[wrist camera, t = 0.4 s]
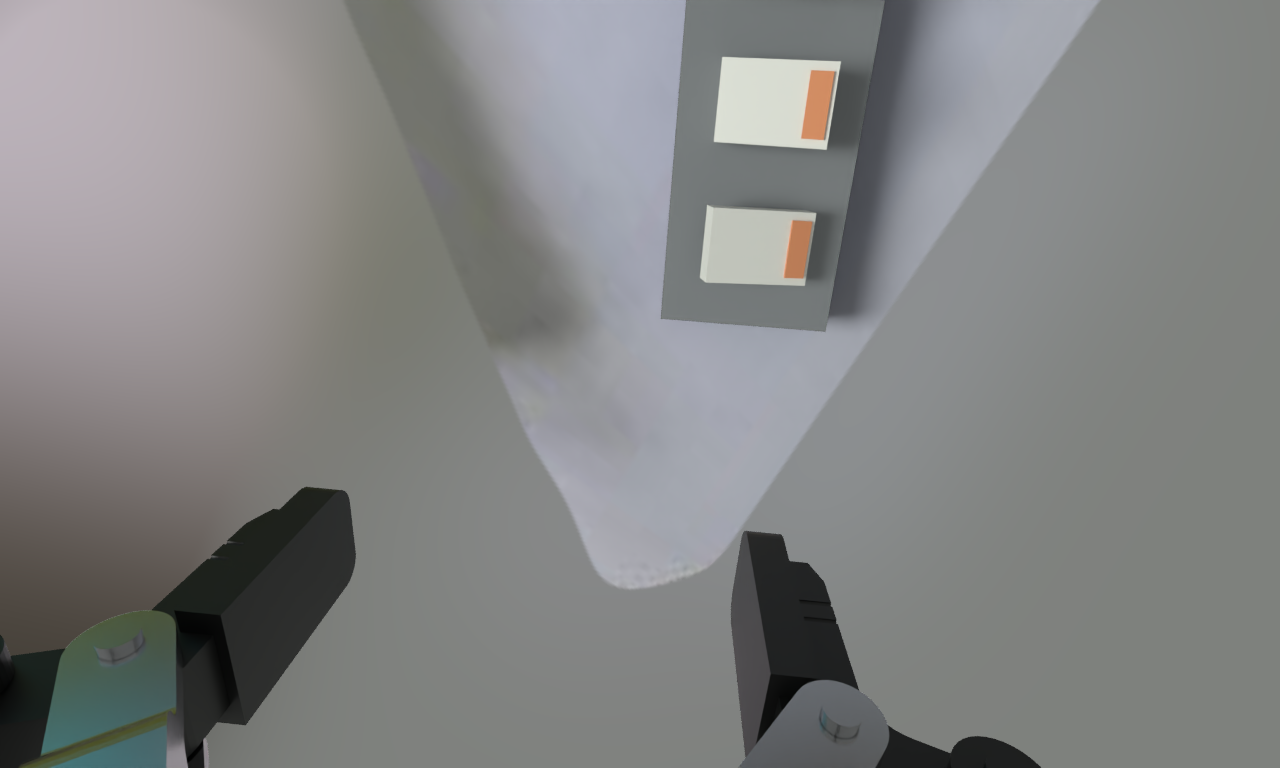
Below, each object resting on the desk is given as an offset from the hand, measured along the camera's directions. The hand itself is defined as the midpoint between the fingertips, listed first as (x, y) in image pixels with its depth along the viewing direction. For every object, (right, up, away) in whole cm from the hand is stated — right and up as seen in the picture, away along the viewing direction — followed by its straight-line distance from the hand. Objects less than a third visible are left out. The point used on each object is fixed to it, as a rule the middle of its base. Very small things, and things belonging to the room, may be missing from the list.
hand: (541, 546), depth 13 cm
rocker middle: (+9, +17, +18) cm, 26 cm away
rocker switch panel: (+9, +19, +20) cm, 29 cm away
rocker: (+8, +11, +20) cm, 24 cm away
